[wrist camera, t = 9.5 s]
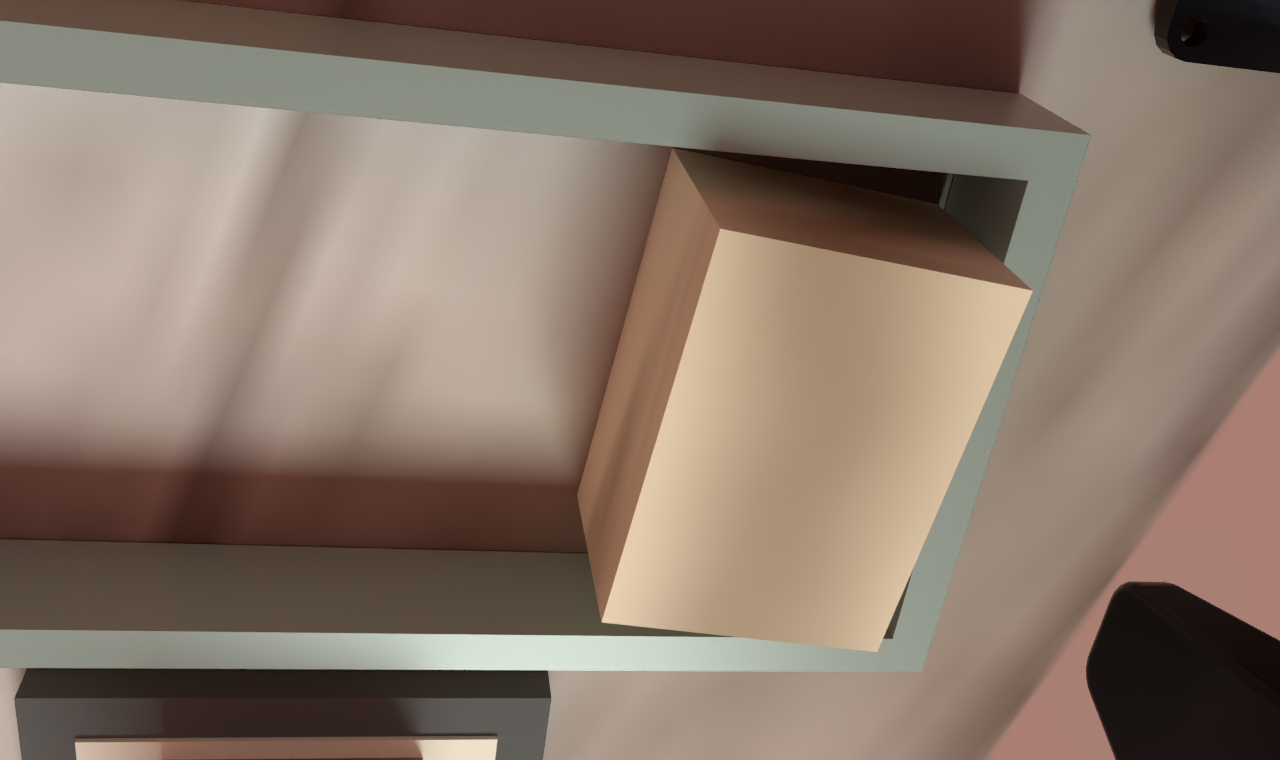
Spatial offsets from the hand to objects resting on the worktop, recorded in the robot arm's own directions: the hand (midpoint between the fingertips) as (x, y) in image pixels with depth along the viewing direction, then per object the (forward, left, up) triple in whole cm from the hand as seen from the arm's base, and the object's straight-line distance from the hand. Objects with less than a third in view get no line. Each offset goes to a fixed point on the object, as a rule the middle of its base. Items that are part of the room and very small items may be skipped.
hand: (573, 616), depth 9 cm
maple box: (-5, +3, -12) cm, 14 cm away
